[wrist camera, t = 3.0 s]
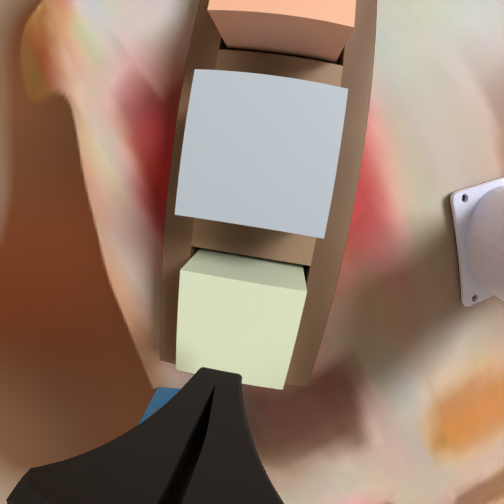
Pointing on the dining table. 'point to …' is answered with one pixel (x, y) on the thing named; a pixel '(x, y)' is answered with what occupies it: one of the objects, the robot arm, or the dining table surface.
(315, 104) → the slate key
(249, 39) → the peach square block
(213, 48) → the wooden tray
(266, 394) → the dining table surface
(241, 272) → the sage key
